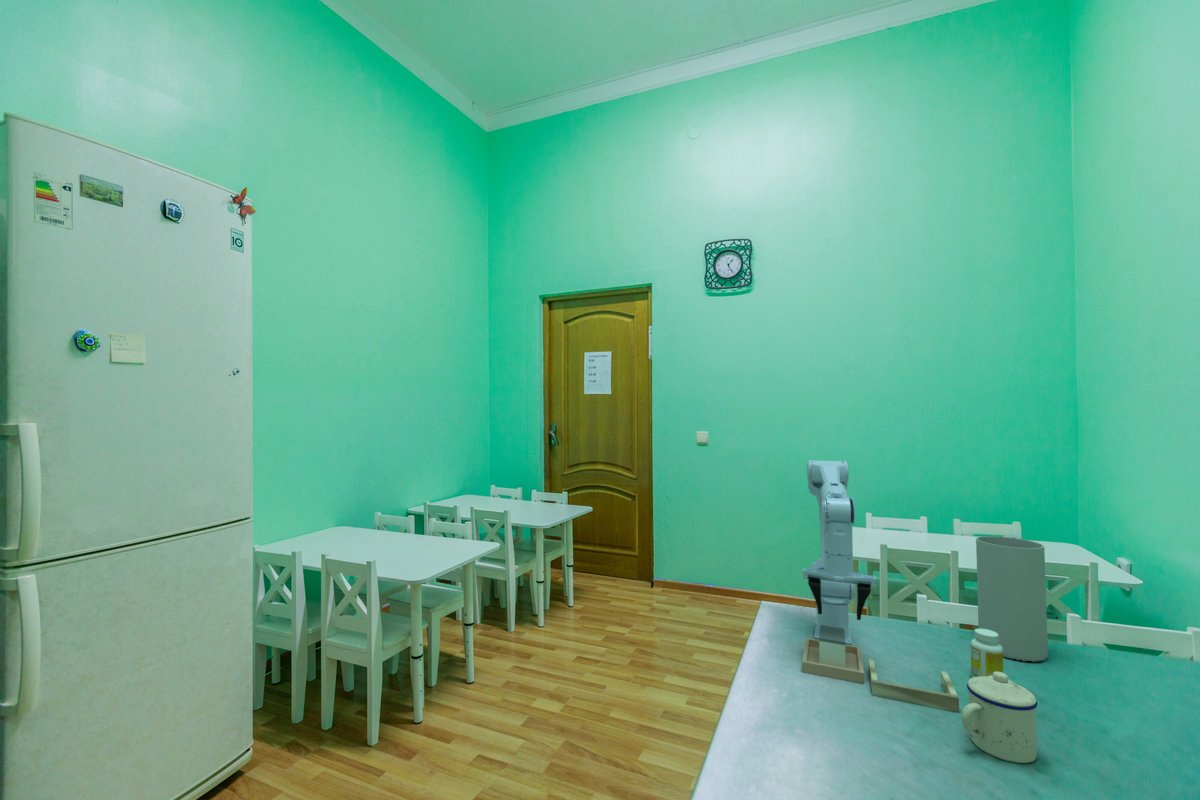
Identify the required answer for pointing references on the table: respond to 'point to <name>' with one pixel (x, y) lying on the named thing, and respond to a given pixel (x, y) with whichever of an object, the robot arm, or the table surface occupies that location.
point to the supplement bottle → (986, 653)
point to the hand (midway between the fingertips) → (839, 615)
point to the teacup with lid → (1001, 718)
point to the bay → (916, 692)
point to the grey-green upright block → (832, 646)
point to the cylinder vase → (1013, 595)
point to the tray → (849, 673)
